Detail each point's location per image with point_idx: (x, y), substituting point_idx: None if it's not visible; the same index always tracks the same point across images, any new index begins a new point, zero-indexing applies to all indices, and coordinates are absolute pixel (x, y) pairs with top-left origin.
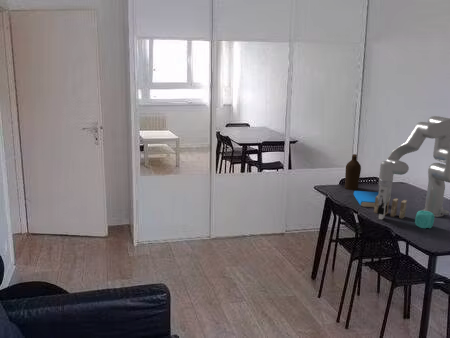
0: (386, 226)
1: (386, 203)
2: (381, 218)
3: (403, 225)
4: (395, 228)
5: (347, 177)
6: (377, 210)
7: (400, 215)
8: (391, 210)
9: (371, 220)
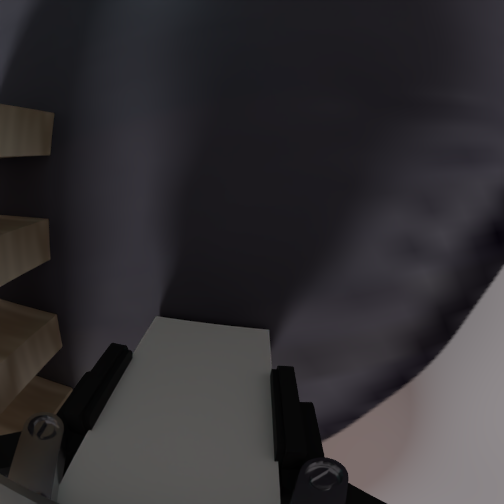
0: (476, 233)
1: (60, 460)
2: (269, 343)
3: (334, 43)
4: (487, 135)
5: None
6: (56, 404)
7: (30, 140)
8: (4, 279)
9: (349, 404)
